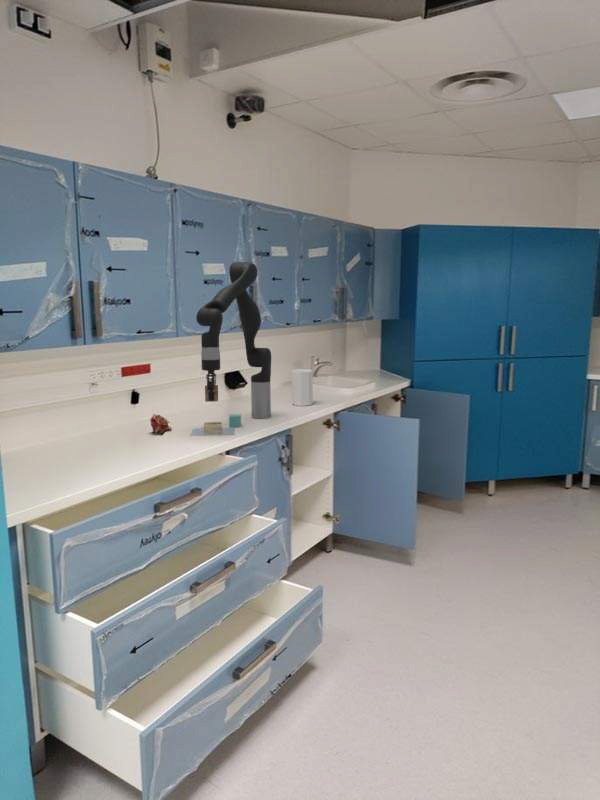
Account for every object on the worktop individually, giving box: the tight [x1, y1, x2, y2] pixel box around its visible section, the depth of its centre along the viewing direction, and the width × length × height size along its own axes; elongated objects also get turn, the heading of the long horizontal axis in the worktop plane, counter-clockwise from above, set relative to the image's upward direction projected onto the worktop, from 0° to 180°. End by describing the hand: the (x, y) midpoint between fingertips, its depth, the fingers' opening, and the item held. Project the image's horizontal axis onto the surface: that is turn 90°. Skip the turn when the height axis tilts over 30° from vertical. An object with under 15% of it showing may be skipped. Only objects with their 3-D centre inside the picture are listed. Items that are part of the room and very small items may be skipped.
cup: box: [291, 368, 314, 407], centre depth 310 cm, size 11×11×18 cm
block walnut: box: [204, 384, 219, 403], centre depth 237 cm, size 5×5×6 cm
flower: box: [149, 413, 173, 435], centre depth 245 cm, size 10×9×8 cm
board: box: [189, 427, 236, 437], centre depth 242 cm, size 14×18×1 cm
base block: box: [203, 421, 223, 436], centre depth 240 cm, size 7×7×4 cm
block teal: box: [228, 413, 242, 428], centre depth 252 cm, size 5×5×6 cm
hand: (211, 399), depth 238 cm, fingers closed on block walnut, 5 cm apart
